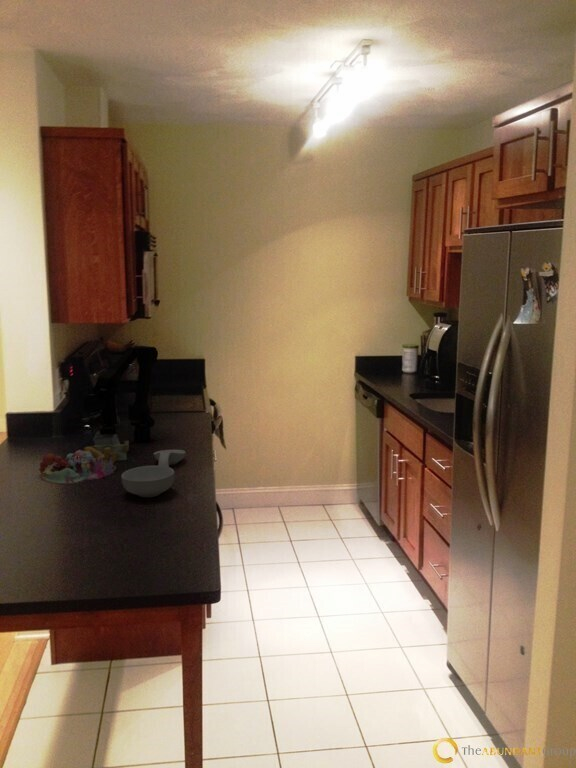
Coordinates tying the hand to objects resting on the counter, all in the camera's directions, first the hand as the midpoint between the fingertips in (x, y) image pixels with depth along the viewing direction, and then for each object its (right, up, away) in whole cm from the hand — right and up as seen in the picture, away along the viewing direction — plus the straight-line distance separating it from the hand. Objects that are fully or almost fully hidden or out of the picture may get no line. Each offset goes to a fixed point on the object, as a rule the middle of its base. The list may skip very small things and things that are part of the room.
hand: (111, 446), depth 273 cm
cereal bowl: (+24, -12, -46) cm, 53 cm away
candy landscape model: (-5, -8, -25) cm, 27 cm away
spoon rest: (+26, -6, -19) cm, 32 cm away
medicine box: (0, -2, -2) cm, 3 cm away
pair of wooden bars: (+1, -3, -3) cm, 4 cm away
